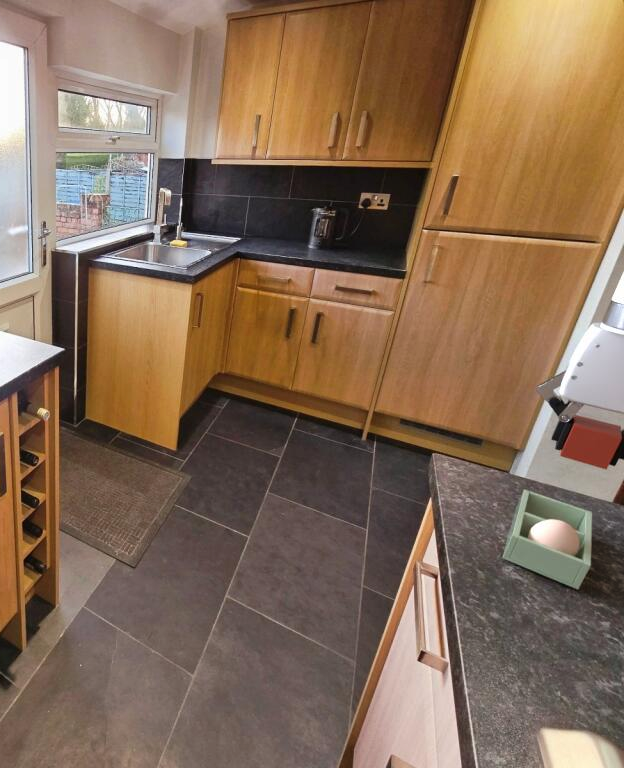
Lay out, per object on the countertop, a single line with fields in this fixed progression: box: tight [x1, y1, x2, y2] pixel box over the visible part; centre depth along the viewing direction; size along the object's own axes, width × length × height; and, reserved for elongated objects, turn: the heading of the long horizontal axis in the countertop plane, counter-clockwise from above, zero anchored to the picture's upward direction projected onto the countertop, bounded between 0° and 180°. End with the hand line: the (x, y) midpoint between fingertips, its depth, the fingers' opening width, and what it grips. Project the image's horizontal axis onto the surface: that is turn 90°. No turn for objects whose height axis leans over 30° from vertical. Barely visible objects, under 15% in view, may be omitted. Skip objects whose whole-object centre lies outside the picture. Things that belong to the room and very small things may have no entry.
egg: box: [528, 519, 580, 556], centre depth 66 cm, size 5×5×6 cm
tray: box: [502, 489, 593, 590], centre depth 69 cm, size 8×15×4 cm, turn 137°
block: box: [559, 414, 622, 470], centre depth 65 cm, size 5×5×5 cm
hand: (584, 452), depth 66 cm, fingers closed on block, 4 cm apart
